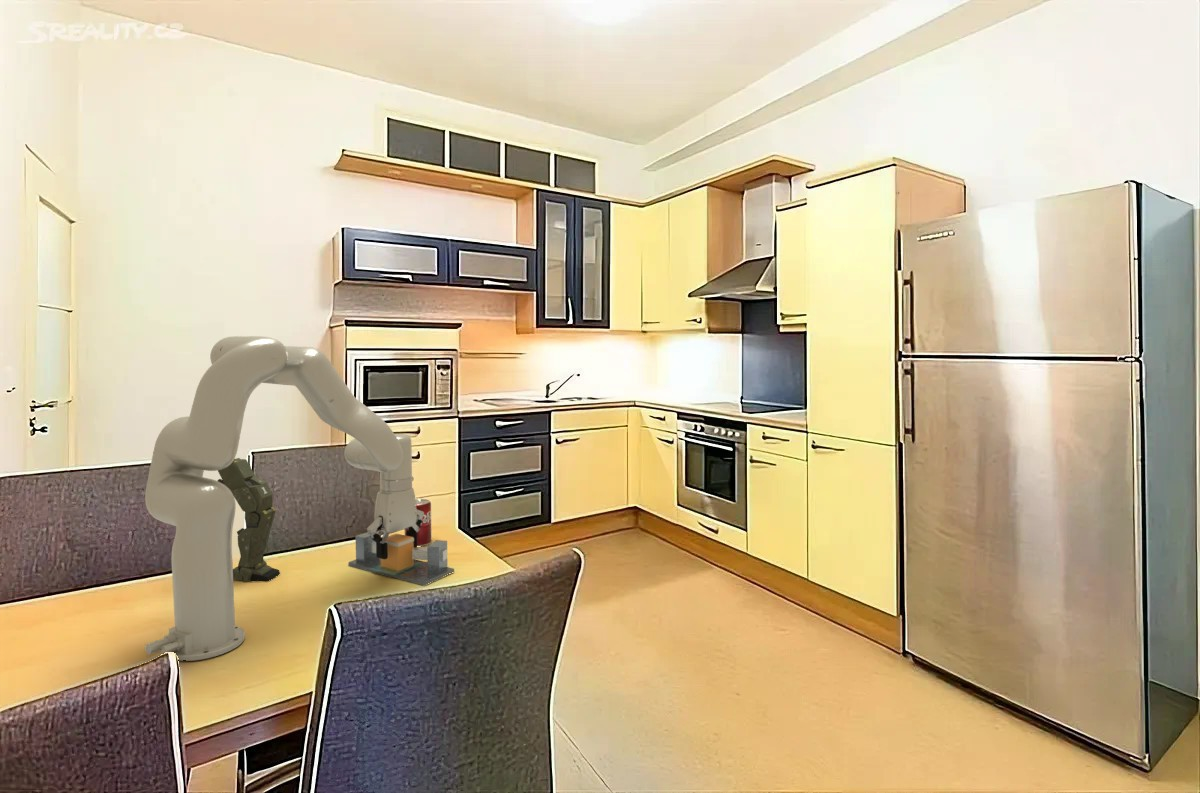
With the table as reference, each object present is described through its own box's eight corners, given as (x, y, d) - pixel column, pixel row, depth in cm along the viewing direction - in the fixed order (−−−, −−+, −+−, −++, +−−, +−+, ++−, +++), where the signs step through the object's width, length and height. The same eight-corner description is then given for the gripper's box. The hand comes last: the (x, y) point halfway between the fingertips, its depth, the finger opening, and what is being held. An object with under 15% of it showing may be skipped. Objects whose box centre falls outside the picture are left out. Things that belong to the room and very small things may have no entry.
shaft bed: (423, 586, 149) (422, 555, 149) (347, 566, 162) (346, 537, 161) (455, 572, 159) (455, 542, 158) (381, 554, 171) (380, 526, 171)
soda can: (399, 546, 178) (398, 503, 177) (414, 538, 185) (413, 497, 184) (422, 548, 176) (421, 506, 175) (436, 541, 183) (436, 499, 182)
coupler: (398, 571, 156) (398, 542, 155) (380, 566, 159) (379, 538, 158) (414, 564, 160) (414, 537, 160) (396, 560, 163) (395, 533, 163)
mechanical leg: (297, 569, 157) (265, 451, 155) (279, 580, 150) (246, 456, 148) (246, 580, 159) (214, 462, 157) (226, 591, 151) (192, 468, 149)
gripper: (411, 476, 167) (412, 540, 169) (356, 489, 152) (358, 560, 153) (432, 479, 163) (433, 545, 165) (379, 493, 148) (380, 565, 150)
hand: (397, 552), depth 159 cm, fingers open, 9 cm apart
